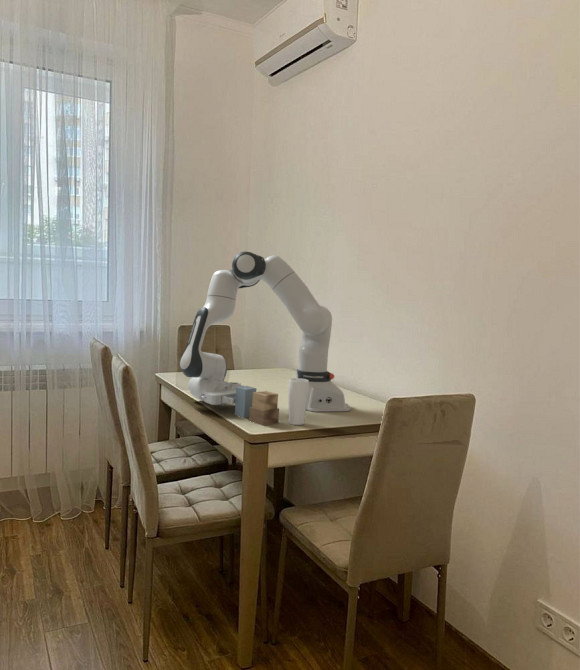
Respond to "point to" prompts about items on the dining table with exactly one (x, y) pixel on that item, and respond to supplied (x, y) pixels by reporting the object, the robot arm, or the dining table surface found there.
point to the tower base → (264, 416)
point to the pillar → (244, 400)
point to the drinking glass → (297, 400)
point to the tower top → (265, 400)
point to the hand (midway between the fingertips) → (244, 400)
